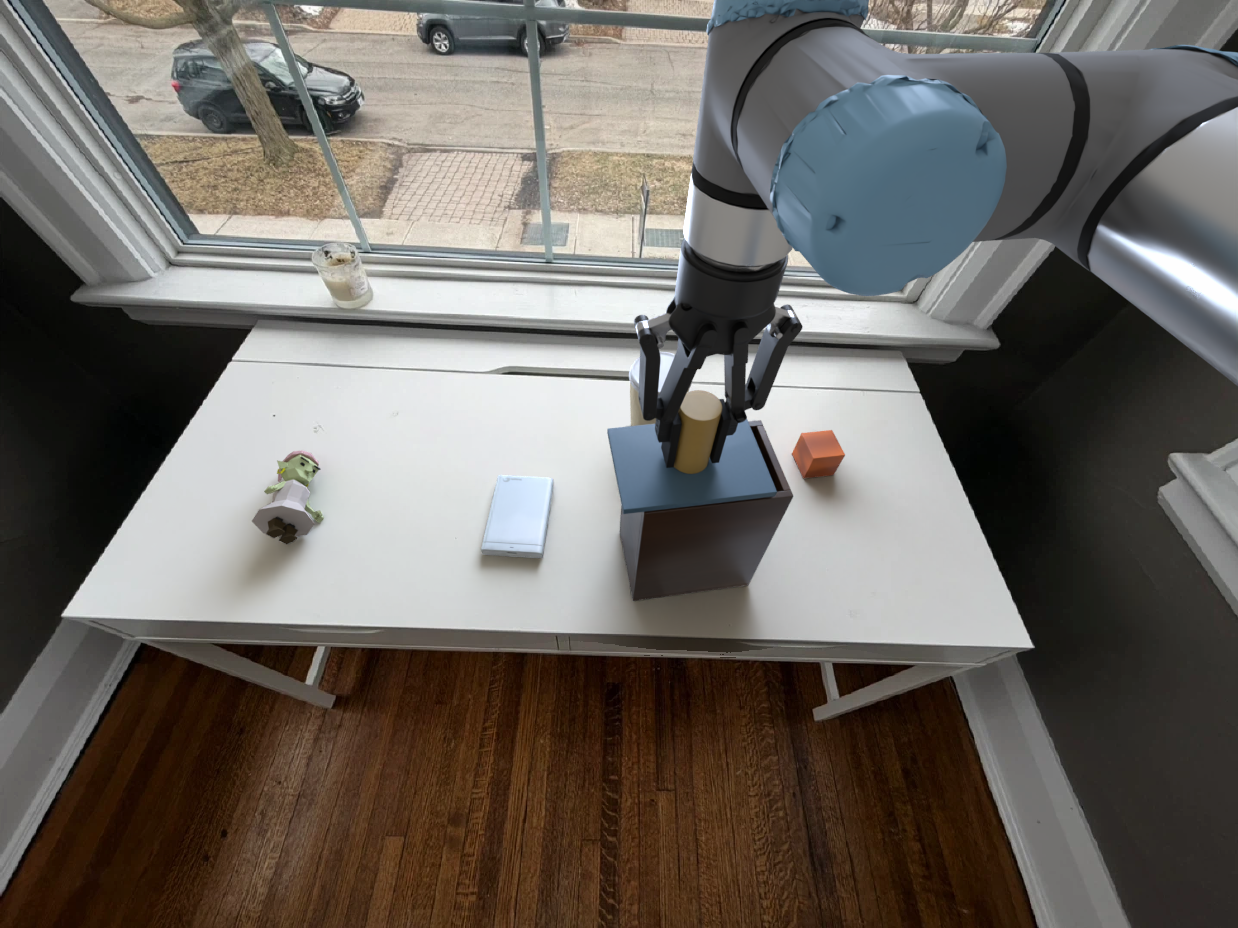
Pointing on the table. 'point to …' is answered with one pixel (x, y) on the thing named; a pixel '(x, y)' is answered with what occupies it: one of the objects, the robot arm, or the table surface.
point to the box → (703, 539)
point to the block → (818, 454)
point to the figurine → (290, 500)
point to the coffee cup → (634, 387)
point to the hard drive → (518, 517)
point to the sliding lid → (688, 462)
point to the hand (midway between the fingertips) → (689, 454)
